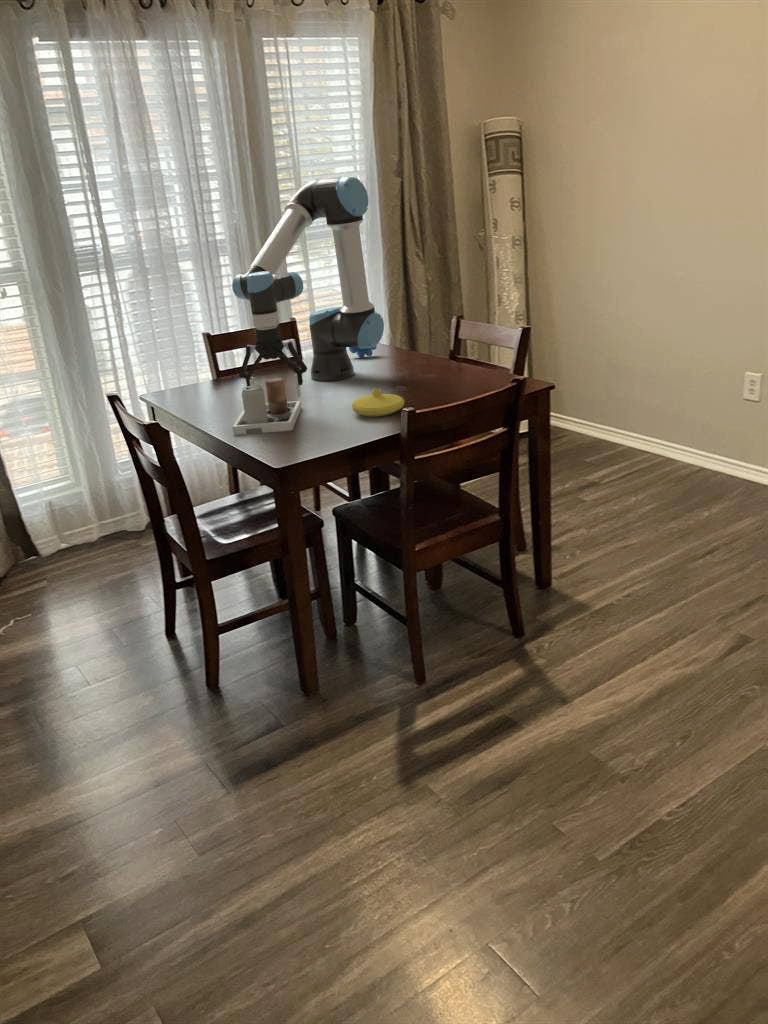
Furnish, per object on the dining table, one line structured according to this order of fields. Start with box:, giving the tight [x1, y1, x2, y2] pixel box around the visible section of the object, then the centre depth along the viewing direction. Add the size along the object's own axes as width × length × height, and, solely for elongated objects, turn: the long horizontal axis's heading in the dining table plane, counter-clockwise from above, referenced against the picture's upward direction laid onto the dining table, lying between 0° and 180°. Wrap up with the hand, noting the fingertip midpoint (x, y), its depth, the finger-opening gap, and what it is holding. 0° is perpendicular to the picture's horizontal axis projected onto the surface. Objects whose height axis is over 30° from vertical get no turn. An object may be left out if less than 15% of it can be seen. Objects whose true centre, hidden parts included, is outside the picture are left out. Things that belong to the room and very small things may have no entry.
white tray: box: [232, 400, 302, 436], centre depth 257 cm, size 17×22×2 cm
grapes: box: [348, 345, 377, 358], centre depth 322 cm, size 12×7×12 cm, turn 85°
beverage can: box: [241, 384, 269, 425], centre depth 251 cm, size 6×6×12 cm
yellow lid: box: [351, 388, 405, 417], centre depth 255 cm, size 16×16×7 cm
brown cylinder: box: [264, 377, 288, 415], centre depth 260 cm, size 6×6×11 cm
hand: (276, 397), depth 260 cm, fingers open, 13 cm apart
